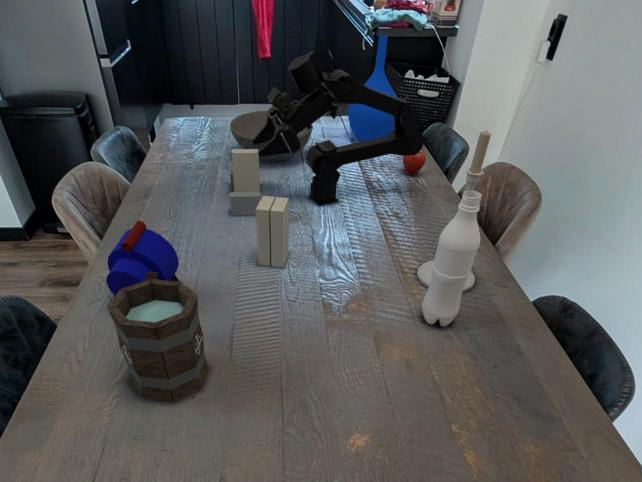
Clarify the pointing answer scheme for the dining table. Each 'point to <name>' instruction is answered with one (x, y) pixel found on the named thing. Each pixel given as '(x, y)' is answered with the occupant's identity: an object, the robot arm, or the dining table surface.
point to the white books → (272, 230)
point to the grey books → (243, 200)
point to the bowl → (251, 125)
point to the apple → (414, 163)
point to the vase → (368, 119)
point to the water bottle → (453, 262)
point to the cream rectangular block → (246, 170)
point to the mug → (160, 337)
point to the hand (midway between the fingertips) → (255, 149)
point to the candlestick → (472, 180)
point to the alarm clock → (140, 258)
